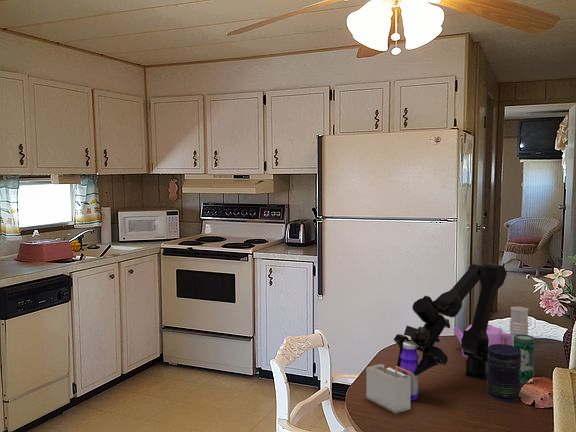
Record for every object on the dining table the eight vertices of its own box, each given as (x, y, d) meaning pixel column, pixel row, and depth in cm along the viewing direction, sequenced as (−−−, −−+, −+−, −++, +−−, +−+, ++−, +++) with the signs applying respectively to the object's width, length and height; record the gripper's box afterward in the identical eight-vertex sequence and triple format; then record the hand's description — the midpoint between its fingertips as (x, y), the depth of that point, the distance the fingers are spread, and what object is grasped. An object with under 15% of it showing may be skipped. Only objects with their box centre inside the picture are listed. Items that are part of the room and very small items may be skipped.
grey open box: (380, 394, 173) (380, 362, 172) (410, 409, 162) (410, 376, 161) (366, 398, 170) (366, 366, 169) (395, 414, 159) (395, 380, 158)
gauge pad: (389, 391, 172) (390, 360, 171) (414, 404, 163) (415, 371, 162) (385, 393, 171) (385, 362, 170) (410, 405, 162) (410, 372, 161)
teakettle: (516, 361, 201) (517, 328, 200) (475, 365, 197) (476, 332, 196) (489, 346, 217) (490, 316, 216) (451, 350, 214) (451, 319, 212)
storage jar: (526, 400, 167) (528, 353, 166) (497, 402, 166) (498, 355, 164) (508, 387, 177) (509, 343, 176) (480, 389, 176) (481, 344, 174)
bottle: (418, 402, 166) (419, 347, 165) (399, 401, 168) (400, 346, 166) (417, 392, 173) (418, 339, 172) (399, 391, 175) (400, 338, 173)
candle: (527, 343, 221) (528, 307, 219) (528, 348, 214) (529, 311, 213) (509, 341, 223) (510, 305, 222) (509, 346, 217) (510, 310, 215)
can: (510, 380, 182) (512, 337, 181) (516, 375, 187) (517, 333, 186) (529, 385, 179) (531, 341, 177) (535, 379, 183) (536, 336, 182)
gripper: (398, 309, 178) (372, 348, 173) (442, 323, 162) (415, 366, 158) (414, 329, 183) (390, 367, 178) (459, 344, 167) (433, 386, 162)
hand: (406, 371), depth 169 cm, fingers open, 7 cm apart
